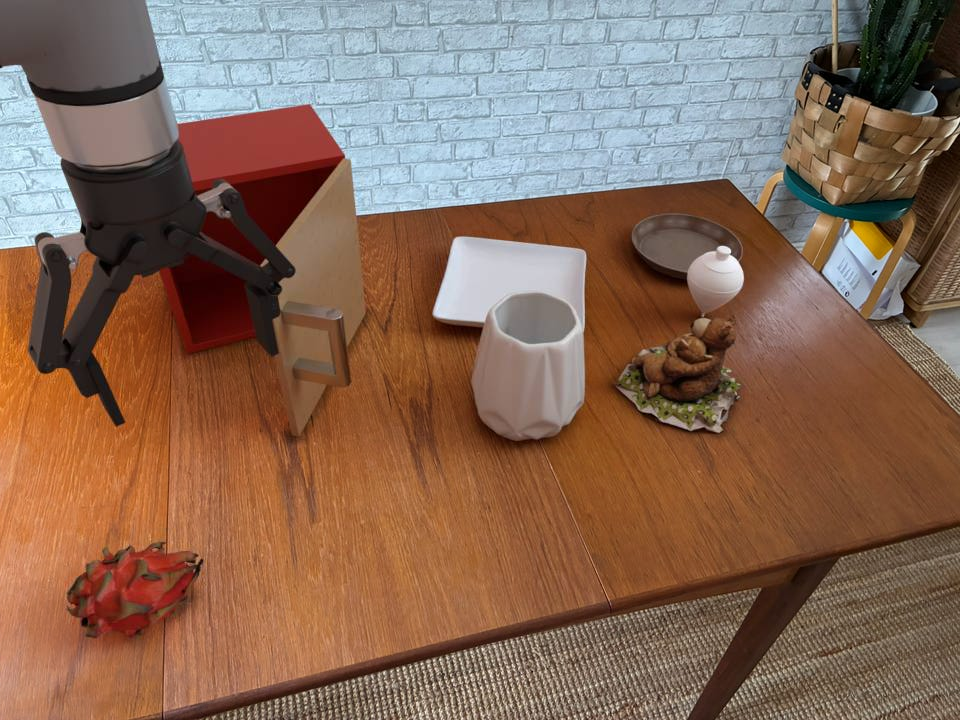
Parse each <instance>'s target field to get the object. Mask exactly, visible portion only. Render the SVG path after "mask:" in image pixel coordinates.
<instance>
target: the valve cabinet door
mask: <svg viewBox="0 0 960 720" xmlns="http://www.w3.org/2000/svg"><path fill="white" fill-rule="evenodd" d="M357 218H358V217H357V209H356V199H355V188H354V179H353V168H352V159H351V158H345V159H342V161H341V162H340V163H339V165H338V166H337V167H336V168H335V170H334V171H333V172H332V174H331V175H330V176H329V178H328V179H327V180H326V181H325V183H324V184H323V185H322V187H321V188H320V189H319V190H318V192H317V193H316V194H315V196H314V197H313V198H312V199H311V201H310V202H309V203H308V205H307V206H306V207H305V208H304V210H303V211H302V212H301V214H300V215H299V216H298V218H297V219H296V220H295V221H294V223H293V224H292V225H291V227H290V228H289V229H288V230H287V232H286V233H285V234H284V236H283V237H282V238H281V239H280V241H279V242H278V243H277V245H276V247H277V248H278V249H279V250H280V251H281V253H282V254H283V255H284V256H285V257H286V258H287V259H288V260H289V261H290V263H291V264H292V265H293V266H294V267H295V269H296V272H295V274H294V276H293V277H291V278H284V279H282V280H281V281H280V282H279V284H280V285H281V286H282V292H281V293H280V294H279V295H278V300H279V305H280V310H281V312H280V316H279V317H277V318H275V319H272V321H273V326H274V331H275V336H276V340H277V345H278V350H279V354H277V355H275V356H273V358H274V362H275V366H276V372H277V376H278V380H279V384H280V389H281V394H282V397H283V403H284V407H285V411H286V417H287V420H288V425H289V429H290V434H291V436H292V437H293V436H294V437H297V438H299V437H301V435H302V433H303V431H304V429H305V427H306V426H307V423H308V421H309V419H310V418H311V416H312V414H313V412H314V410H315V408H316V406H317V405H318V403H319V401H320V399H321V398H322V395H323V393H324V391H325V390H326V388H327V386H332V387H337V388H347V387H349V386H350V385H351V383H352V375H351V366H350V358H349V351H348V347H349V345H350V343H351V341H352V340H353V338H354V336H355V334H356V332H357V331H358V329H359V327H360V325H361V323H362V321H363V319H364V318H365V315H366V313H367V309H366V299H365V289H364V280H363V270H362V268H363V267H362V262H361V261H362V259H361V258H362V257H361V249H360V239H359V230H358V229H359V228H358V219H357ZM267 263H268V261H267V260H266V259H265V260H264V261H263V263H262V264H261V265H260V266H261V267H263V266H264V265H265V264H267Z"/></svg>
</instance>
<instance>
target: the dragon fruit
mask: <svg viewBox="0 0 960 720" xmlns="http://www.w3.org/2000/svg"><path fill="white" fill-rule="evenodd" d="M165 544H167V543H166V541H157V542H152V543H151V544H149V545H148V546H147V547H146V548H145V549H143V550H140V551H137V552H136V548H135V547H134V546H133V545H129V546H127V547H126V548H125V549H119V550H117V551H116V552H115V554H113V553H112V552H111V551H110V550H109V549H108V547H107V546H106V547H104V548H102V550H101V552H102V555H103V557H104V558H103V559H102V560H100V559H94V560H92V561H91V562H87V563H86V564H85V572H83V573H82V574H80V575H79V576H77V577H76V578H75V580H74V582H73V584H72V585H71V586H70V588H69V589H68V591H67V592H66V595H67V596H66V599H67V602H68V604H70V605H74V606H75V607H74V608H70V607H69V606H68V605H66V608H67V609H66V611H67V612H68V613H69V615H70V616H72V617H73V618H77V619H81V620H80V625H81V627H82V628H87V629H86V630H85V633H84V636H85V638H92V639H95V640H96V639H98V638H100V637H101V636H103V635H106V633H107V632H108V631H114V632H118V633H120V634H124V635H125V636H126V637H128V638H130V639H131V638H132V639H138V638H140V637H142V636H143V633H144V630H146V629H150V628H151V627H152V626H154V625H155V624H157V623H159V622H161V621H163V620H164V619H165V618H167V617H168V616H171V615H173V614H174V613H175V612H176V610H177V609H179V608H180V607H181V605H182V604H183V603H184V602H186V601H187V599H188V596H189V593H190V591H191V589H192V587H193V585H194V584H195V583H196V582H197V580H198V578H199V577H200V573H201V569H202V565H203V564H204V562H205V561H204V559H203V558H200V559H199V561H198V563H197V559H196V558H198V557H199V556H200V555H199V553H197V552H196V553H194V552H192V551H190V550H180V551H177V552H169V553H166V551H165V548H164V545H165ZM154 549H158V550H155V551H153V550H154ZM195 550H196V551H198V549H197V548H196V549H195ZM196 563H197V564H196ZM190 564H192V565H190Z"/></svg>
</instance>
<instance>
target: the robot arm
mask: <svg viewBox="0 0 960 720" xmlns="http://www.w3.org/2000/svg"><path fill="white" fill-rule="evenodd" d="M157 45H158V44H157V42H156V37H155V33H154V29H153V25H152V21H151V16H150V13H149V8H148V4H147V0H0V69H3V67H10V66H11V67H12V66H20V67H21V68H22V71H23V73H24V74H25V76H26V80H27V83H28V85H29V88H30V91H31V92H32V94H33V97H34V99H35V102H36V105H37V107H38V111H39V113H40V115H41V117H42V121H43V123H44V126H45V129H46V131H47V134H48V136H49V137H48V138H49V140H50V141H51V144H52V145H51V146H52V147H53V150H54V152H55V154H56V155H57V156H59V157H60V159H61V160H60V168H61V171H62V174H63V175H64V178H65V181H66V184H67V186H68V188H69V191H70V194H71V197H72V199H73V201H74V204H75V206H76V209H77V211H78V214H79V217H80V229H79V232H75V233H72V234H71V233H70V234H65V235H60V236H56V237H54V235H53V234H51V233H50V232H46V231H42V232H39V233H37V234H36V235H35V237H34V239H33V240H34V245H35V249H36V253H37V257H38V259H39V262H40V267H39V269H40V270H39V274H38V281H37V287H36V292H35V300H34V306H33V311H32V318H31V326H30V332H29V339H28V343H27V344H28V345H27V353H28V355H29V356H30V358H31V360H32V362H33V364H34V366H35V367H36V369H37V371H38V372H39V373H40V374H43V375H48V374H49V375H50V374H52V373H54V371H56V369H65V370H68V373H69V374H70V376H71V379H72V380H73V382H74V384H75V386H76V388H77V390H78V392H79V393H80V394H81V396H83V398H85V399H88V398H89V399H90V397H93V396H95V395H98V397H99V400H100V401H101V404H102V406H103V408H104V410H105V412H106V413H107V414H108V416H109V418H110V419H111V421H112V423H113V424H114V426H115V428H117V427H119V426H122V425H123V424H126V420H125V418H124V416H123V413H122V411H121V409H120V406H119V403H118V402H117V400H116V397H115V396H114V392H113V390H112V389H111V386H110V384H109V382H108V380H107V377H106V375H105V373H104V370H103V368H102V366H101V364H100V362H99V360H98V359H97V357H96V355H95V354H94V352H93V351H94V349H95V347H96V345H97V343H98V341H99V338H100V337H101V335H102V333H103V331H104V329H105V327H106V325H107V323H108V320H109V319H110V317H111V315H112V313H113V311H114V309H115V307H116V305H117V303H118V301H119V299H120V298H121V295H122V294H125V293H127V291H128V290H129V288H130V286H131V284H132V282H133V280H134V278H135V276H141V278H142V279H144V278H146V277H150V276H153V275H155V274H156V273H158V272H159V270H161V269H163V268H168V267H175V266H178V265H181V264H184V260H185V259H186V258H187V257H188V256H189V255H190V253H191V254H193V255H195V256H197V257H199V258H201V259H202V260H204V261H206V262H211V263H213V264H215V265H217V266H219V267H221V268H223V269H224V270H226V271H228V272H230V273H232V274H234V275H236V276H238V277H240V278H242V279H244V280H245V281H247V283H245V284H244V285H245V289H246V294H247V298H248V303H249V307H250V311H251V316H252V320H253V325H254V329H255V333H256V337H255V338H256V341H257V343H258V344H259V345H260V346H261V347H262V348H263V349H264V350H265V352H267V354H268V355H269V356H270V357H271V358H272V357H274V356H275V355H277V354H279V350H278V345H277V340H276V336H275V331H274V326H273V321H272V319H275V318H277V317H279V316H280V312H281V310H280V305H279V300H278V295H279V294H280V293H281V292H282V286H281V285H280V284H279V282H280V281H281V280H282V279H284V278H291V277H293V276H294V274H295V272H296V269H295V267H294V266H293V265H292V264H291V263H290V261H289V260H288V259H287V258H286V257H285V256H284V255H283V254H282V253H281V251H280V250H279V249H278V248H277V247H276V246H275V245H274V244H273V242H272V241H271V240H270V239H269V238H268V237H267V236H266V235H265V234H264V232H263V231H262V230H261V229H260V228H259V227H258V226H257V225H256V223H255V222H254V221H253V220H252V219H251V218H250V217H249V216H248V214H247V211H246V208H245V205H244V202H243V199H242V196H241V195H240V193H239V192H237V191H236V190H235V189H234V188H233V187H232V186H231V185H230V184H228V183H227V182H226V181H225V180H223V179H217V180H216V181H214V183H213V185H212V190H210V191H207V192H205V193H203V194H200V195H198V196H196V194H195V192H194V187H193V183H192V179H191V175H190V171H189V168H188V164H187V160H186V156H185V152H184V148H183V145H182V143H181V142H180V141H179V140H178V138H179V128H178V124H179V123H178V121H177V117H176V114H175V113H176V112H175V110H174V106H173V102H172V99H171V95H170V92H169V89H168V88H169V87H168V84H167V81H166V77H165V74H164V69H163V66H162V63H161V57H160V54H159V49H158V46H157ZM209 211H212V212H214V213H215V214H216V215H217V216H218V217H220V218H228V219H229V220H230V221H231V222H232V223H233V224H234V225H235V227H236V228H237V229H238V230H239V231H240V232H241V233H242V234H243V235H244V236H245V237H246V238H247V239H248V240H249V241H250V243H251V244H252V245H253V246H254V247H255V248H256V249H257V250H258V251H259V252H260V253H261V254H262V255H263V256H264V257H265V259H266V260H267V261H268V263H267V264H265V265H264V266H263V267H261V266H259V265H258V264H256V263H254V262H252V261H250V260H249V259H247V258H245V257H243V256H241V255H240V254H238V253H236V252H234V251H233V250H231V249H229V248H227V247H225V246H224V245H222V244H220V243H218V242H217V241H215V240H213V239H211V238H209V237H208V236H206V235H204V234H203V233H202V232H200V231H201V228H202V226H203V224H204V221H205V219H206V216H207V212H209ZM85 252H89V253H90V254H91V255H93V256H95V257H96V258H95V259H94V262H93V264H92V274H91V276H90V278H89V280H88V282H87V284H86V285H85V288H84V290H83V292H82V294H81V297H80V299H79V300H78V303H77V304H76V306H75V308H74V311H73V313H72V315H71V316H70V319H69V321H68V323H67V325H66V327H65V323H66V318H67V311H68V306H69V301H70V295H71V289H72V288H71V287H72V274H71V271H75V270H76V269H78V265H79V262H80V257H81V255H82V254H84V253H85Z"/></svg>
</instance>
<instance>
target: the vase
mask: <svg viewBox="0 0 960 720" xmlns="http://www.w3.org/2000/svg"><path fill="white" fill-rule="evenodd" d="M584 337H585V336H584V332H583V328H582V324H581V321H580V319H579V317H578V316H577V312H576V310H575V308H574V307H573V306H572V305H571V304H570V303H569V302H567V301H566V300H565V299H563V298H561V297H556V296H555V295H554V294H551V293H547V292H543V291H526V292H524V291H519V292H514V293H511V294H508V295H506V296H505V297H503V298H502V299H501V300H500V301H499V302H497V303H496V304H495V305H494V306H493V307H492V308H491V309H490V310H489V312H488V314H487V316H486V319H485V323H484V326H483V327H482V331H481V335H480V338H479V342H478V346H477V350H476V354H475V358H474V363H473V367H472V374H471V380H470V383H471V388H472V391H473V396H474V403H475V408H476V409H477V415H478V417H479V418H480V420H481V421H482V422H483V424H484V425H486V426H487V427H488V428H489V429H490V430H492V431H493V432H495V433H496V435H498V436H501V437H503V438H506V439H508V440H512V441H515V442H520V441H525V440H526V441H527V440H536V441H537V440H540V439H544V438H552V437H556V435H558V434H559V433H560V432H561V431H562V428H563V427H565V426H569V425H570V424H571V422H572V421H573V419H574V418H575V415H576V413H577V412H578V411H579V410H580V409H581V408H582V406H583V405H584V403H585V393H586V369H585V368H586V367H585V366H586V365H585V362H586V361H585V338H584Z"/></svg>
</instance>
